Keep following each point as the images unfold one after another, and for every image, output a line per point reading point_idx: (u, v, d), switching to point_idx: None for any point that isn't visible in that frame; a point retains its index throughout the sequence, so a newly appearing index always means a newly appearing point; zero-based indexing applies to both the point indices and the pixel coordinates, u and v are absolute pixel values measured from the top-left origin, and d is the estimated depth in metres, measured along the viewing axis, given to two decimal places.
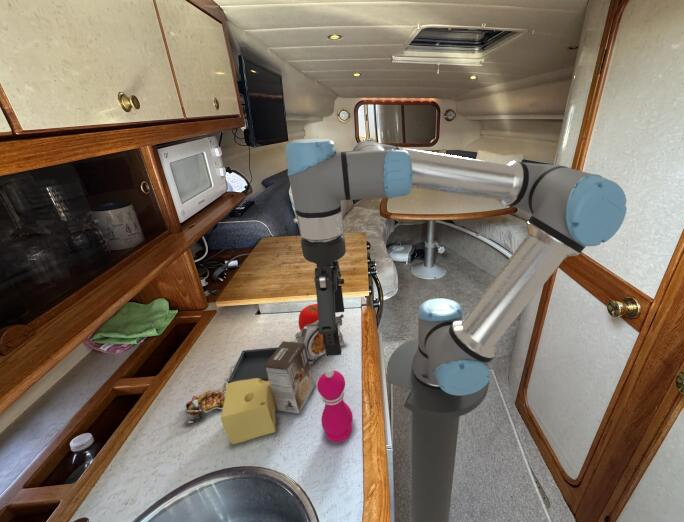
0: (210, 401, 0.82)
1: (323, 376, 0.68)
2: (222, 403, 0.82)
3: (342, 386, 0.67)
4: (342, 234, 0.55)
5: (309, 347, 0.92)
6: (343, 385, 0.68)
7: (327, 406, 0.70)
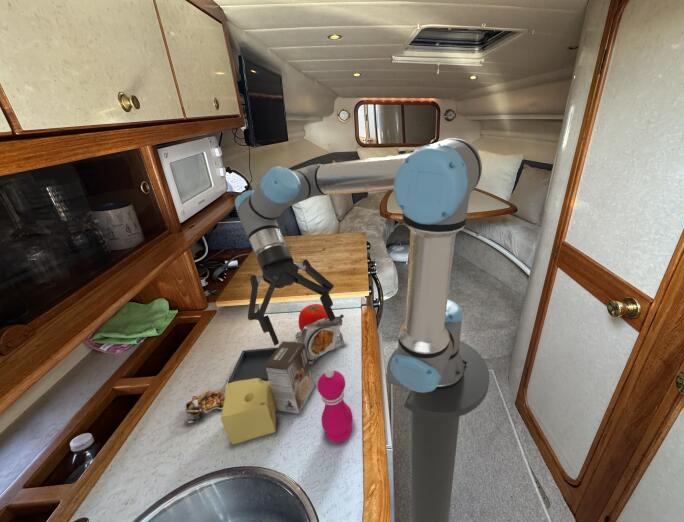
0: (210, 401, 0.82)
1: (323, 376, 0.68)
2: (222, 403, 0.82)
3: (342, 386, 0.67)
4: (274, 245, 0.73)
5: (309, 347, 0.92)
6: (343, 385, 0.68)
7: (327, 406, 0.70)
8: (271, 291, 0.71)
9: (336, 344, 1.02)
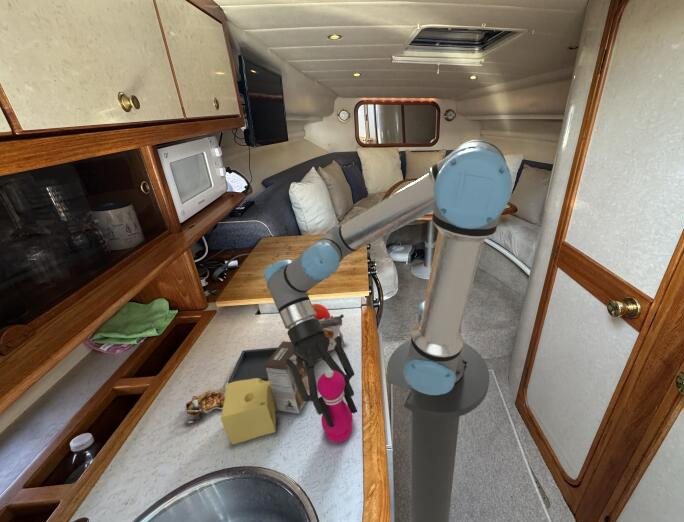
0: (210, 401, 0.82)
1: (323, 376, 0.68)
2: (222, 403, 0.82)
3: (342, 386, 0.67)
4: (306, 320, 0.71)
5: None
6: (343, 385, 0.68)
7: (327, 406, 0.70)
8: (312, 369, 0.70)
9: None
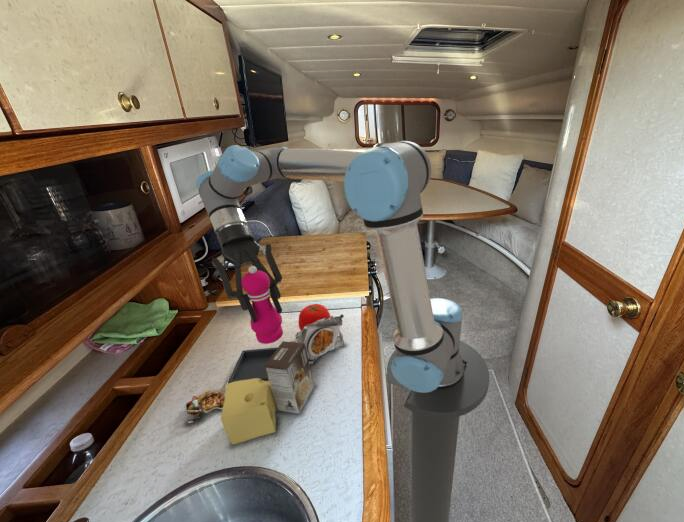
0: (210, 401, 0.82)
1: (247, 273, 0.71)
2: (222, 403, 0.82)
3: (265, 282, 0.71)
4: (234, 224, 0.74)
5: (309, 347, 0.92)
6: (266, 282, 0.71)
7: (253, 304, 0.73)
8: (239, 269, 0.73)
9: (336, 344, 1.02)
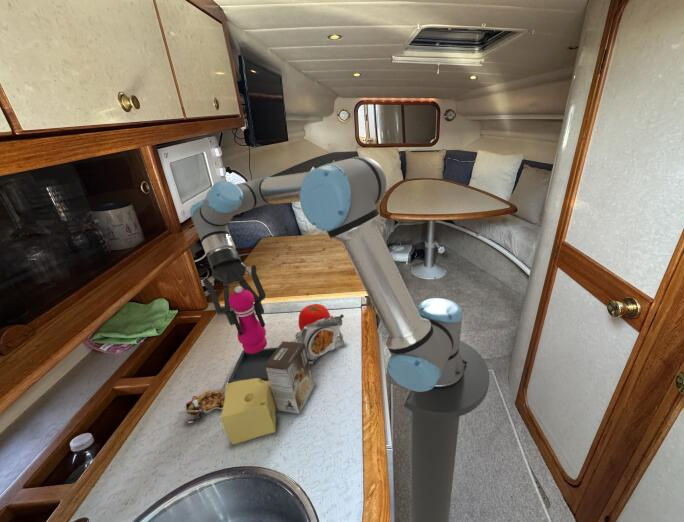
0: (210, 401, 0.82)
1: (234, 292, 0.81)
2: (222, 403, 0.82)
3: (249, 300, 0.81)
4: (222, 249, 0.84)
5: (309, 347, 0.92)
6: (250, 300, 0.82)
7: (239, 319, 0.84)
8: (227, 288, 0.83)
9: (336, 344, 1.02)
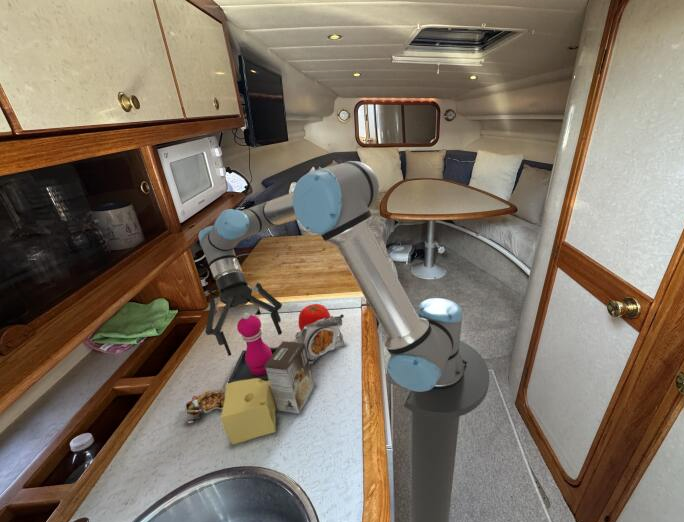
0: (210, 401, 0.82)
1: (242, 318, 0.85)
2: (222, 403, 0.82)
3: (257, 326, 0.85)
4: (230, 272, 0.88)
5: (309, 347, 0.92)
6: (258, 325, 0.86)
7: (247, 344, 0.87)
8: (226, 311, 0.86)
9: (336, 344, 1.02)
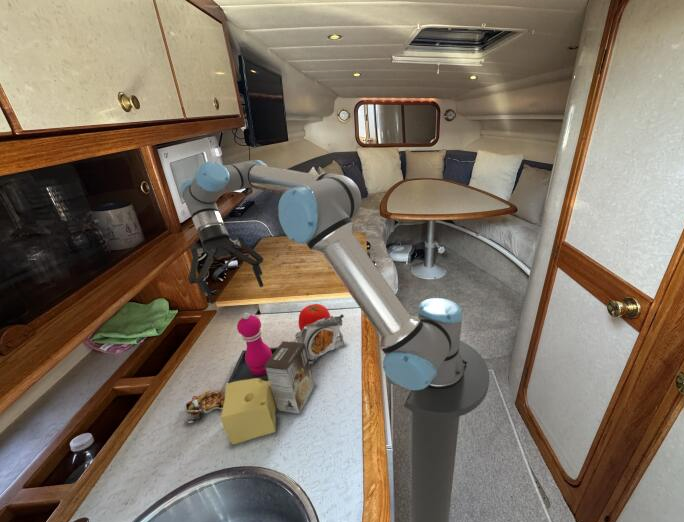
0: (210, 401, 0.82)
1: (242, 318, 0.85)
2: (222, 403, 0.82)
3: (257, 326, 0.85)
4: (212, 225, 0.91)
5: (309, 347, 0.92)
6: (258, 325, 0.86)
7: (247, 344, 0.87)
8: (209, 261, 0.90)
9: (336, 344, 1.02)
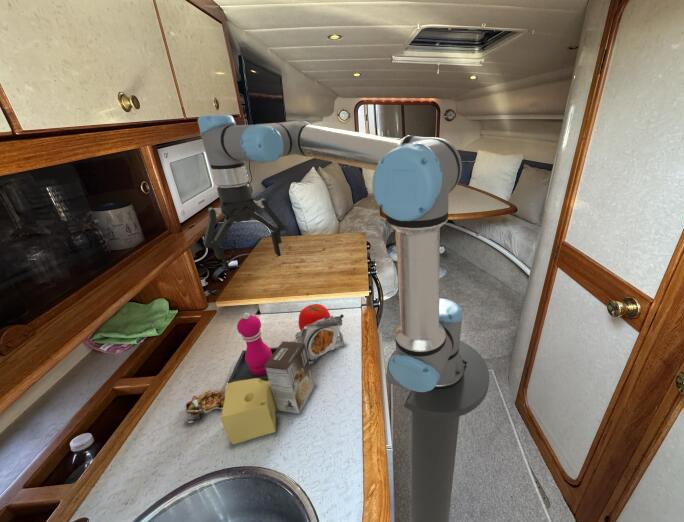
0: (210, 401, 0.82)
1: (242, 318, 0.85)
2: (222, 403, 0.82)
3: (257, 326, 0.85)
4: (238, 187, 0.75)
5: (309, 347, 0.92)
6: (258, 325, 0.86)
7: (247, 344, 0.87)
8: (228, 227, 0.79)
9: (336, 344, 1.02)
